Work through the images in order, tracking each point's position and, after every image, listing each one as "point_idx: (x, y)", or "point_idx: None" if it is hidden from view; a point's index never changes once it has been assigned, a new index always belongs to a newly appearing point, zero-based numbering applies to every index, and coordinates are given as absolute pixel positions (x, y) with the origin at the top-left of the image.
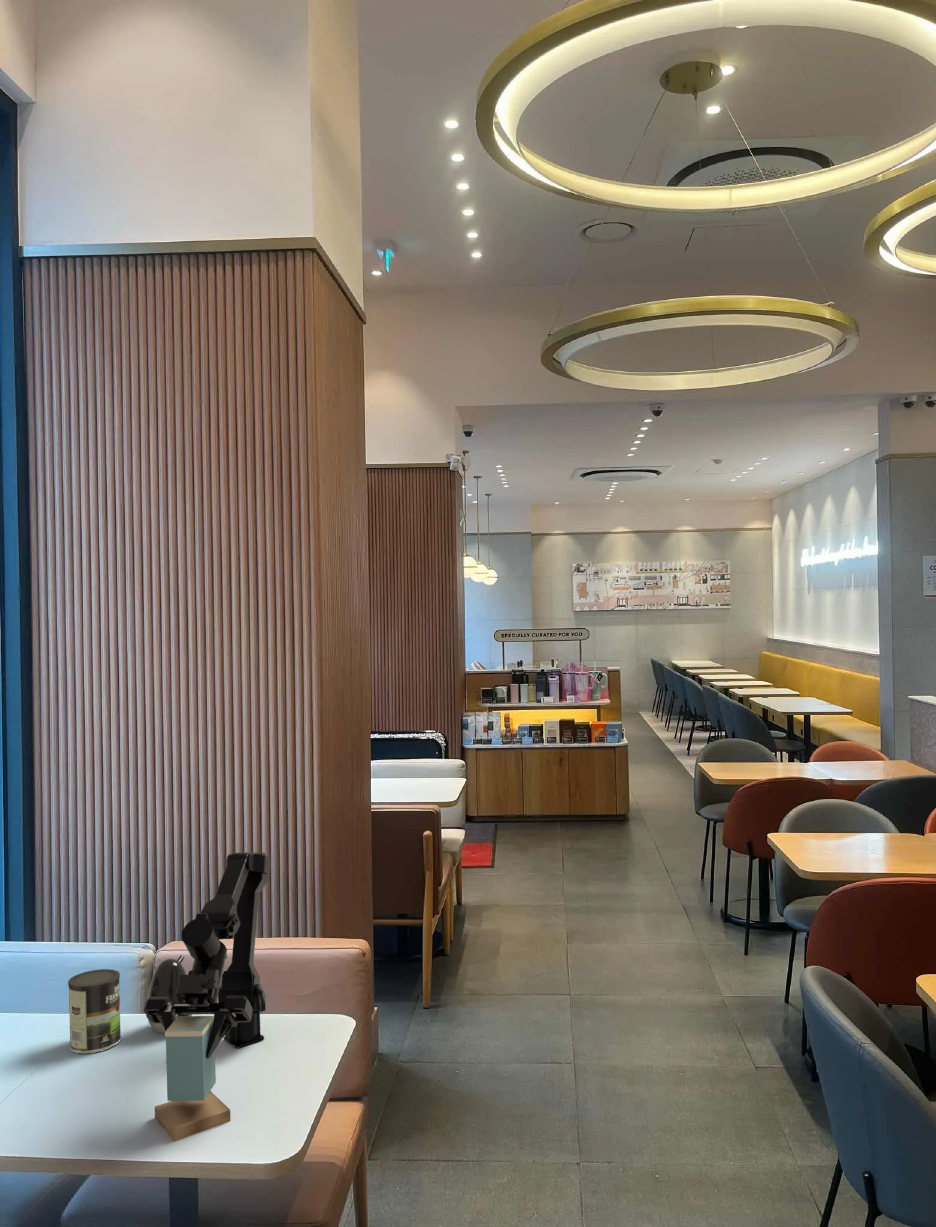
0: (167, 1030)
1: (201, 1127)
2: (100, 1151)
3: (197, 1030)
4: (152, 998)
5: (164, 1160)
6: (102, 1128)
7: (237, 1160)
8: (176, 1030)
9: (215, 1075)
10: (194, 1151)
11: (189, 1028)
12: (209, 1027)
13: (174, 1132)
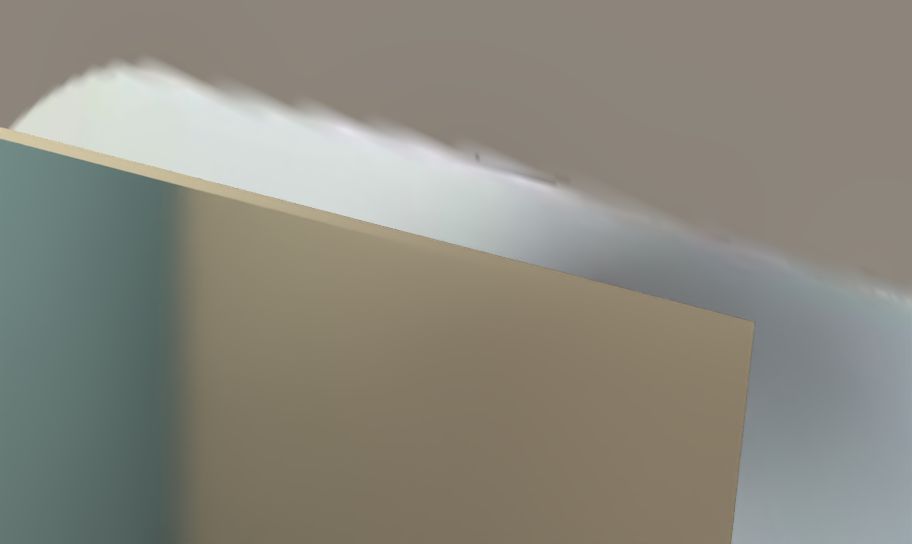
0: (718, 405)
1: None
2: (769, 303)
3: (59, 210)
4: None
5: (494, 170)
6: (832, 517)
7: (229, 103)
8: (505, 330)
9: None
10: (385, 201)
11: (215, 362)
12: None
13: None
